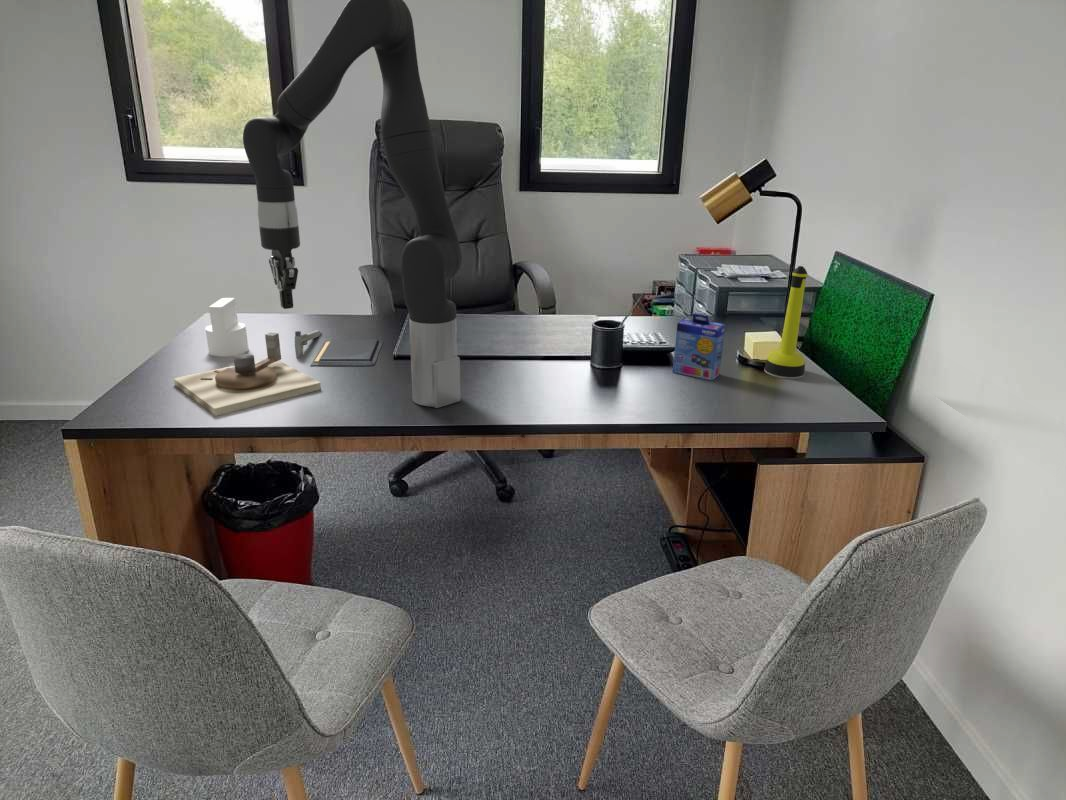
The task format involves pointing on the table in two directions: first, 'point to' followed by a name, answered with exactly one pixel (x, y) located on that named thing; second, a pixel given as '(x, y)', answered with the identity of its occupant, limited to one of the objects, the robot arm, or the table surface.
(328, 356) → the dark grey flat block
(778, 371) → the flashlight
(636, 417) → the table surface
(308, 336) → the caliper
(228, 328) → the cylinder with rectangular tab
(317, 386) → the dial board
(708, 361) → the ink cartridge box
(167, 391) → the table surface
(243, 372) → the dial
